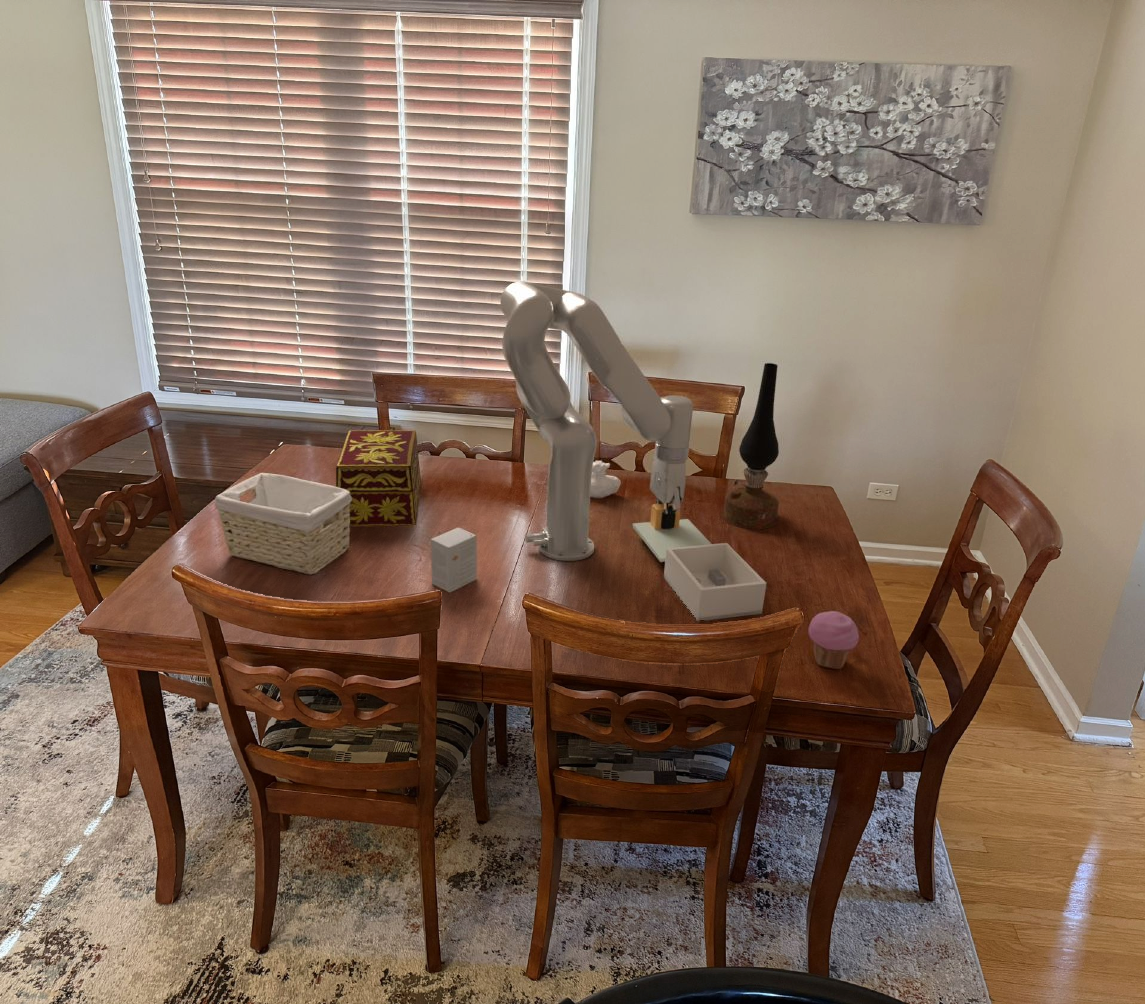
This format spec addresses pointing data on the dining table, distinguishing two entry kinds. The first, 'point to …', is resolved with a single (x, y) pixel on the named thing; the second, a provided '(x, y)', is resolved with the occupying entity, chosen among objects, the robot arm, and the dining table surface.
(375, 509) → the decorative box
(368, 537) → the dining table surface
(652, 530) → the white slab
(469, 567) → the small box
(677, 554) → the tub
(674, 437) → the robot arm
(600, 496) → the duck figurine
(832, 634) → the cupcake
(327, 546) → the storage basket
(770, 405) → the oil lamp
